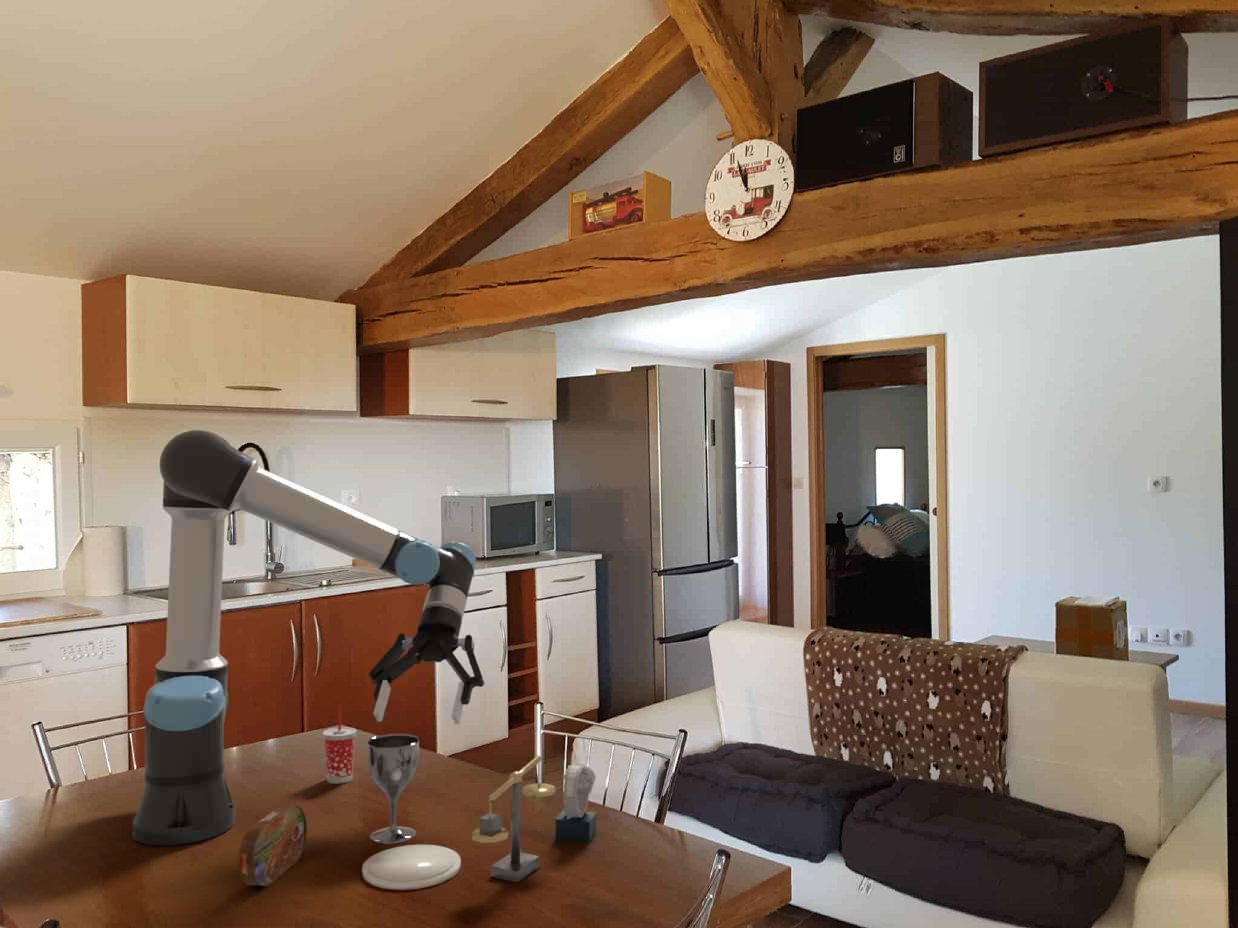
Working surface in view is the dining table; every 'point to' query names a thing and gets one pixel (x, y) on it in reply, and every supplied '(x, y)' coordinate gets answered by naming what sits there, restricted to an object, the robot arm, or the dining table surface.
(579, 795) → the watch
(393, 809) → the wine glass
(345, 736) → the beverage cup
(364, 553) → the robot arm
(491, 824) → the balance
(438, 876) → the dish
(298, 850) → the tin
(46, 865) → the dining table surface
